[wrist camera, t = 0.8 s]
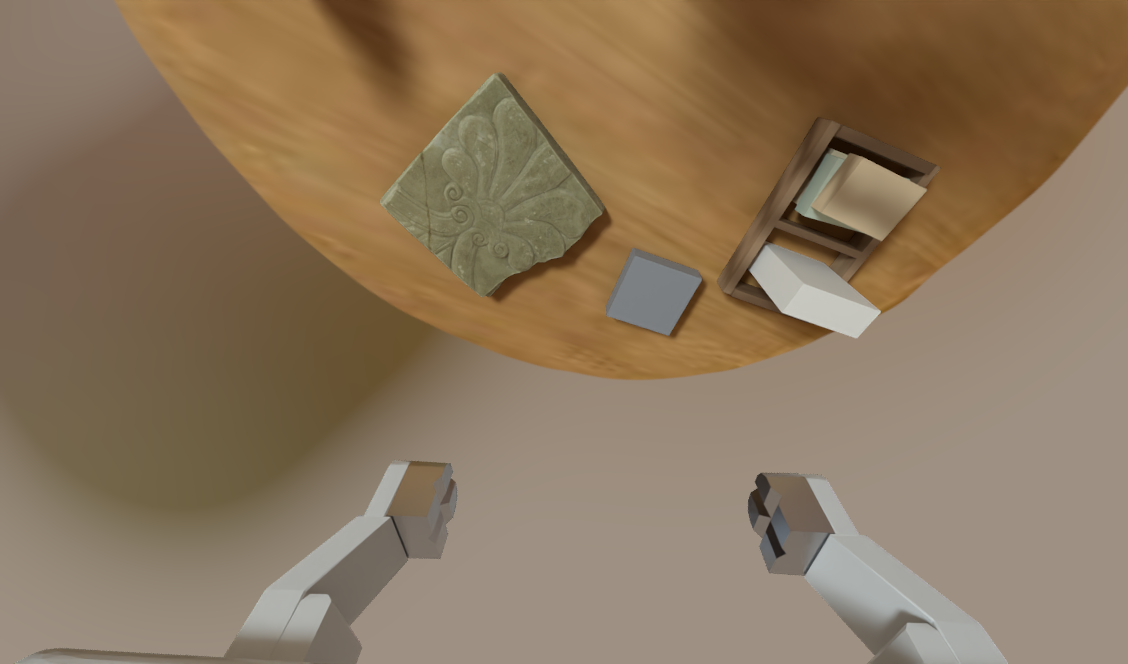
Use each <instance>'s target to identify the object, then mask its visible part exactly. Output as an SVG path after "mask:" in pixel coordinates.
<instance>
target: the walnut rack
mask: <svg viewBox="0 0 1128 664" xmlns="http://www.w3.org/2000/svg"><path fill="white" fill-rule="evenodd" d="M833 137H835V138H837V139H840V140H842V141H844V142H847V143H849V144H851V145H854V146H856V147H858V148H861V149H863V150H865V151H868V152H870V153H873V154H875V155H877V156H880V157H882V158H884V159H887V160H889V161H891V162H894V163H896V164H898V165H901V166H903V167H905V168H906V169H905V170H904V171H903V173H902V174H901V175H900V176H902V177H904V178H907V179H910V181H911V182H913V183H915V184H917V185H919V186H921V187H923V188H925V187H926V186H927V185H928V183H929V182H930V181H931V180H932V178H933V177H934V176H935V175H936V174H937V172H938V171H939V170H940V169H941V168H940V167H938V166H937V165H935V164H932V163H930V162H928V161H925V160H923V159H921V158H918V157H916V156H914V155H911V154H909V153H907V152H905V151H902V150H900V149H898V148H895V147H893V146H891V145H888V144H886V143H884V142H881V141H879V140H877V139H874V138H872V137H870V136H867V135H865V134H863V133H861V132H858V131H856V130H854V129H851V128H849V127H847V126H844V125H841V124H838V123H836V122H834V121H831V120H827V119H822V118H817V120H816V121H815V123H814V124H813V126H812V128H811V129H810V131H809V133H808V134H807V136H806V137H805V139H804V141H803V142H802V144H801V146H800V147H799V149H798V150H797V152H796V154H795V155H794V157H793V158H792V160H791V162H790V163H789V165H788V167H787V168H786V170H785V171H784V173H783V175H782V176H781V178H780V179H779V181H778V183H777V184H776V186H775V188H774V189H773V191H772V192H771V194H770V196H769V197H768V199H767V201H766V202H765V204H764V205H763V207H762V209H761V210H760V212H759V213H758V215H757V217H756V218H755V220H754V222H753V223H752V225H751V226H750V228H749V230H748V231H747V233H746V234H745V236H744V238H743V239H742V241H741V243H740V244H739V246H738V247H737V249H736V251H735V252H734V254H733V256H732V257H731V259H730V260H729V262H728V264H727V265H726V267H725V268H724V270H723V272H722V273H721V275H720V277H719V278H718V280H717V283H718V284H719V286H720V288H721V289H722V291H723V292H725V293H727V294H730V295H731V296H732V297H735V298H737V299H740V300H743V301H746V302H749V303H752V304H755V305H758V306H761V307H763V308H766V309H769V310H772V311H775V312H778V313H781V314H784V313H782V312H781V311H780V310H779V308H778V307H777V306H776V305H775V303H774V302H773V301H772V299H771V298H770V297H769V296H768V294H767V293H766V292H765V290H763V289H760V288H757V287H754V286H752V285H749V284H746V283H743V282H740V281H739V280H740V279H741V277H742V276H743V274H744V273H745V271H746V270H747V268H748V266H749V265H750V263H751V262H752V260H753V259H754V257H755V256H756V254H757V253H758V251H759V250H760V248H761V247H762V245H763V243H764V242H765V240H766V239H767V237H768V236H769V234H770V233H771V231H772V230H773V228H774V227H775V228H778V229H781V230H783V231H786V232H789V233H791V234H794V235H796V236H799V237H802V238H804V239H807V240H810V241H812V242H815V243H817V244H820V245H823V246H825V247H828V248H831V249H833V250H836V251H839V252H841V253H840V254H839V255H838V257H837V258H836V259H835V260H834V262H833V263H832V264H831V266H830V267H829V268H830V269H831V270H833V271H834V272H835V273H836V274H837V275H839V276H840V277H841V278H842V279H843V280H844V281H846V282H848V281H849V279H850V278H851V277H852V276H853V275H854V273H855V272H856V271H857V270H858V268H859V267H860V266H861V265H862V264H863V262H864V261H865V260H866V259H867V258H868V256H869V255H870V254H871V253H872V251H873V250H874V249H875V248H876V247H877V245H878V244H879V243H880V242H881V241H880V240H878V239H876V238H874V237H872V236H870V235H867V234H865V233H861V232H858V231H857V232H856V233H855V235H854V236H853V237H852V238H851V240H850V241H849V242H848V243H847V242H845V241H842V240H839V239H837V238H834V237H832V236H829V235H826V234H824V233H821V232H819V231H816V230H813V229H811V228H808V227H806V226H803V225H800V224H798V223H795V222H793V221H790V220H787V219H785V218H782V217H781V216H782V214H783V213H784V211H785V210H786V208H787V207H788V205H789V204H790V202H791V201H792V199H793V198H794V196H795V194H796V193H797V191H798V190H799V188H800V187H801V185H802V184H803V182H804V181H805V179H806V178H807V176H808V175H809V173H810V171H811V170H812V168H813V167H814V165H815V164H816V162H817V161H818V159H819V158H820V156H821V155H822V153H823V152H824V150H825V149H826V147H827V145H828V144H829V142H830V141H831V139H832V138H833ZM784 315H786V316H789V317H792V318H795V319H798V320H801V319H799V318H796V317H793V316H790V315H787V314H784ZM801 321H804V320H801ZM804 322H807V321H804ZM807 323H809V322H807Z"/></svg>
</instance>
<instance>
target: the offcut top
mask: <svg viewBox="0 0 1128 664" xmlns="http://www.w3.org/2000/svg"><path fill="white" fill-rule="evenodd" d="M926 191H927V189H925V188H923V187H921V186H919V185H917V184H915V183H913V182H911V181H909V180H907V179H905V178H903V177H901V176H899V175H897V174H895V173H893V172H891V171H889V170H887V169H885V168H883V167H881V166H879V165H878V164H876V163H874V162H872V161H870V160H868V159H866V158H864V157H861V156H858V155H855V154H852V153H850V154H849V155H848V156H847V158H846V159H845V160H844V162H843V163H842V164H841V166H840V167H839V168H838V170H837V171H836V172H835V174H834V175H833V176H832V178H831V179H830V181H829V182H828V183H827V185H826V186H825V187H824V189H823V190H822V191H821V193H820V194H819V195H818V197H817V198H816V199H815V201H814V202H813V203H812V205H811V207H813V208H815V209H816V210H818V211H819V212H821V213H823V214H825V215H827V216H829V217H831V218H833V219H835V220H838V221H840V222H842V223H844V224H846V225H848V226H850V227H852V228H855V229H857V230H859V231H861V232H863V233H865V234H867V235H870V236H872V237H874V238H876V239H878V240H880V241H882V240H883V239H884V238H885V237H886V236H887V235H888V234H889V233H890V232H891V230H892V229H893V228H894V227H895V226H896V225H897V224H898V223H899V221H900V220H901V219H902V218H903V217H904V216H905V215H906V214H907V212H908V211H909V210H910V209H911V208H912V207H913V206H914V205H915V203H916V202H917V201H918V200H919V199H920V198H921V197H922V196H923V194H924V193H925V192H926Z"/></svg>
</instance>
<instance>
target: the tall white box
mask: <svg viewBox="0 0 1128 664" xmlns="http://www.w3.org/2000/svg"><path fill="white" fill-rule="evenodd" d="M748 270H749V271H750V272H751V274H752V275H753V276H754V277H755V279H756V280H757V281H758V283H759V284H760V285H761V286H762V288H763V289H764V290H765V292H766V293H767V294H768V296H769V297H770V298H771V299H772V301H773V302H774V303H775V305H776V306H777V307H778V308H779V310H780V311H781V312H782V313H784V314H787V315H790V316H793V317H796V318H799V319H801V320H804V321H807V322H810V323H813V324H816V325H819V326H822V327H824V328H827V329H830V330H833V331H836V332H839V333H842V334H845V335H848V336H850V337H854V338H858V336H859V335H860V334H861V333H862V332H863V331H864V330H865V329H866V328H867V327H868V326H869V324H870V323H871V322H872V321H873V320H874V319H875V318H876V317H877V316H878V315H879V314H880V312H881V311H880V310H879V309H877V308H876V307H875V306H874V305H873V304H872V303H870V302H869V301H868V300H867V299H866V298H864V297H863V296H862V295H861V294H860V293H859V292H857V291H856V290H855V289H854V288H853V287H852V286H850V285H849V284H848V283H847V282H846V281H844V280H843V279H842V278H841V277H840V276H839V275H837V274H836V273H835V272H834V271H833V270H831V269H830V268H829V267H828V266H827V265H826V264H824V263H823V262H820V261H818V260H815V259H812V258H810V257H807V256H804V255H801V254H799V253H796V252H793V251H791V250H788V249H785V248H783V247H780V246H777V245H775V244H772V243H769V242H767V241H765V242H764V243H763V245H762V247H761V248H760V250H759V251H758V253H757V254H756V256H755V257H754V259H753V260H752V262H751V263H750V265H749V266H748Z"/></svg>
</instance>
